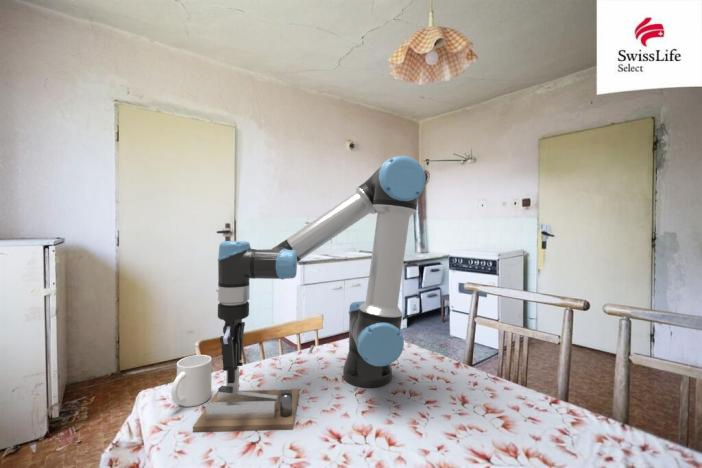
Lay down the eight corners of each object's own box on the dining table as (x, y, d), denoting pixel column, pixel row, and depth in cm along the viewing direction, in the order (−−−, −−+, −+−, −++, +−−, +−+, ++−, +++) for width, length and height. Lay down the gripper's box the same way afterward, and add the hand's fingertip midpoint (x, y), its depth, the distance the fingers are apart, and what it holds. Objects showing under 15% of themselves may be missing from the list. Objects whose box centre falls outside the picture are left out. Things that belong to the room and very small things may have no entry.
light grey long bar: (278, 407, 80) (278, 392, 80) (275, 411, 79) (275, 395, 79) (221, 400, 84) (221, 385, 84) (217, 403, 82) (217, 388, 82)
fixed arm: (292, 410, 80) (292, 388, 80) (291, 417, 77) (291, 395, 77) (211, 412, 79) (211, 390, 78) (206, 420, 76) (206, 396, 75)
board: (299, 393, 90) (299, 389, 90) (292, 429, 74) (292, 424, 74) (217, 395, 89) (217, 391, 89) (192, 432, 73) (192, 426, 73)
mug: (186, 418, 78) (186, 375, 78) (157, 413, 80) (157, 371, 80) (217, 393, 90) (218, 356, 90) (191, 389, 92) (191, 353, 92)
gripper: (227, 296, 90) (226, 381, 90) (208, 307, 77) (207, 407, 77) (254, 296, 90) (253, 381, 91) (241, 308, 77) (240, 407, 78)
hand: (232, 393), depth 84 cm, fingers closed
